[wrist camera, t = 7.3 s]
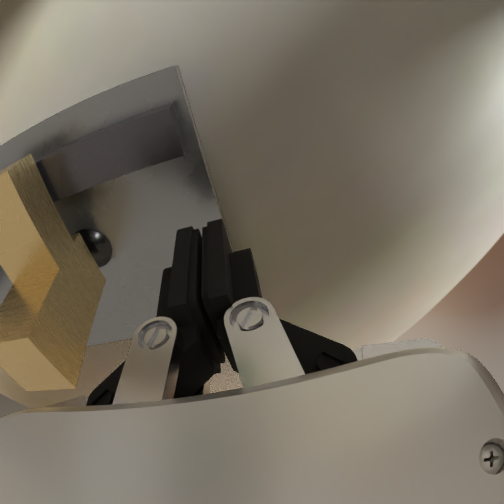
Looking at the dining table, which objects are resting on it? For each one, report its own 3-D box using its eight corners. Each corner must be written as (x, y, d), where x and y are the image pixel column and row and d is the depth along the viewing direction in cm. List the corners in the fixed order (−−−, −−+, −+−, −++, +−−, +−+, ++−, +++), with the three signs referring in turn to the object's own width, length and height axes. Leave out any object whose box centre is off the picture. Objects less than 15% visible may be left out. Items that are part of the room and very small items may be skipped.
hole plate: (177, 65, 12) (136, 77, 5) (249, 301, 20) (272, 426, 13) (-89, 216, 12) (-153, 291, 5) (2, 350, 21) (-26, 432, 14)
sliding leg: (45, 143, 11) (-51, 223, 6) (108, 273, 16) (76, 388, 10) (1, 167, 12) (-88, 250, 6) (65, 285, 16) (26, 391, 10)
